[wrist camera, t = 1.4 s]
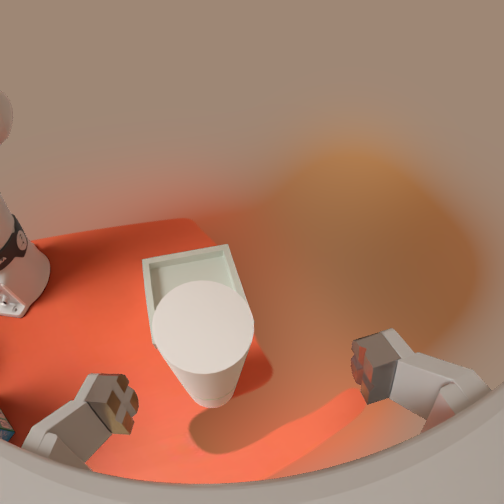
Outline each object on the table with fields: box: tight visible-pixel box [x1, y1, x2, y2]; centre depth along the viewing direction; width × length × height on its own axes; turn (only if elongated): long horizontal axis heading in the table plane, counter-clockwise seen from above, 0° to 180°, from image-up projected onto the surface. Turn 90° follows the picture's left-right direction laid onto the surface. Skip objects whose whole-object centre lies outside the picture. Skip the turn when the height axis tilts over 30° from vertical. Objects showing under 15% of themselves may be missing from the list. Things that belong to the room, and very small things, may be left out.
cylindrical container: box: [152, 280, 254, 408], centre depth 28 cm, size 7×7×25 cm
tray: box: [142, 244, 255, 349], centre depth 46 cm, size 16×16×2 cm
